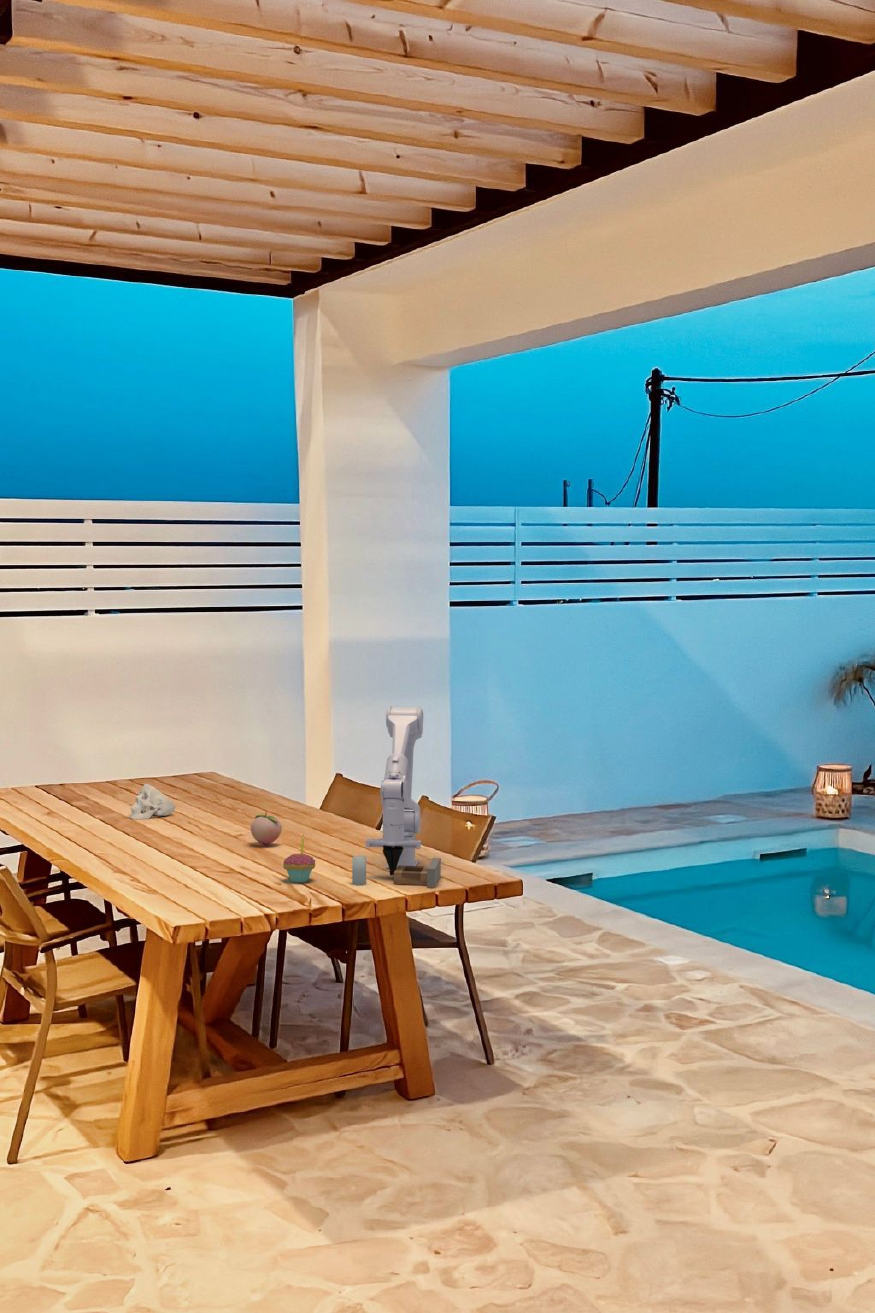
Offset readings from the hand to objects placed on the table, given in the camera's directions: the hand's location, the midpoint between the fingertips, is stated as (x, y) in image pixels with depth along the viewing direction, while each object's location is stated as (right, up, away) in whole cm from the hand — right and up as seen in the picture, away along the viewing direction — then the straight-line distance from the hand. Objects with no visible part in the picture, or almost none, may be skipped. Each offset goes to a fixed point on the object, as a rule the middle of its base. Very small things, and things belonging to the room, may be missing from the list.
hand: (393, 874), depth 351 cm
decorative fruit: (-39, +1, +42) cm, 58 cm away
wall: (+11, -1, -4) cm, 12 cm away
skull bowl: (-83, +4, +90) cm, 122 cm away
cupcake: (-24, -1, -4) cm, 25 cm away
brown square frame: (+5, -1, -3) cm, 6 cm away
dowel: (-9, -1, -6) cm, 11 cm away
